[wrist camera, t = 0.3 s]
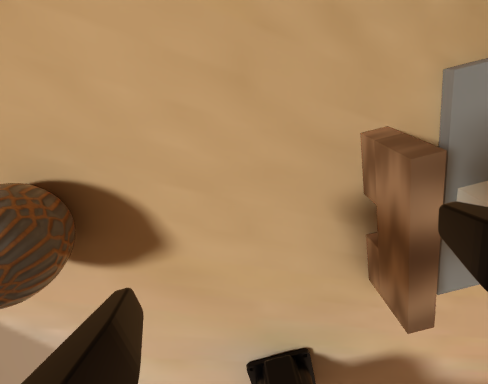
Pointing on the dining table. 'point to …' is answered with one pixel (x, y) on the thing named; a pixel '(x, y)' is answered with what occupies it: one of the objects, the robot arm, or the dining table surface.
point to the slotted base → (463, 155)
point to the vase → (31, 240)
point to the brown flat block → (404, 222)
